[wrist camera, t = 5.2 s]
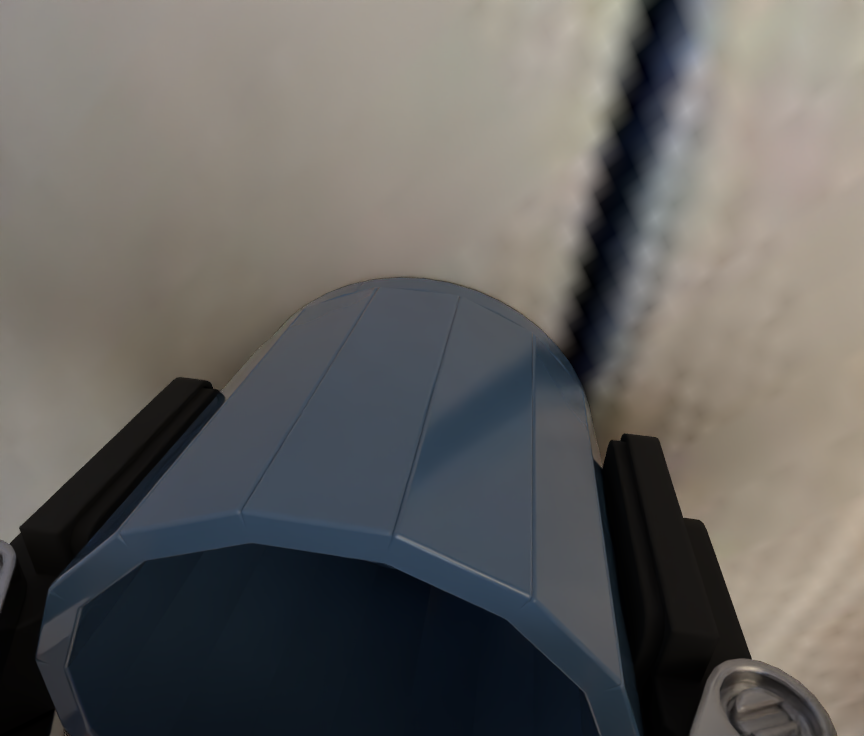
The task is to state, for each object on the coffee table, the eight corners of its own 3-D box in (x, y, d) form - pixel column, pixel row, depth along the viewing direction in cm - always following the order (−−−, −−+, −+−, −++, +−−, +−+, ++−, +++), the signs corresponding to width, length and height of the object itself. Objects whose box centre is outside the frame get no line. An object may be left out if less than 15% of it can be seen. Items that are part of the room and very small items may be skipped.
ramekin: (265, 539, 14) (106, 837, 9) (234, 257, 11) (-49, 467, 5) (562, 585, 13) (580, 937, 8) (628, 298, 10) (731, 582, 5)
